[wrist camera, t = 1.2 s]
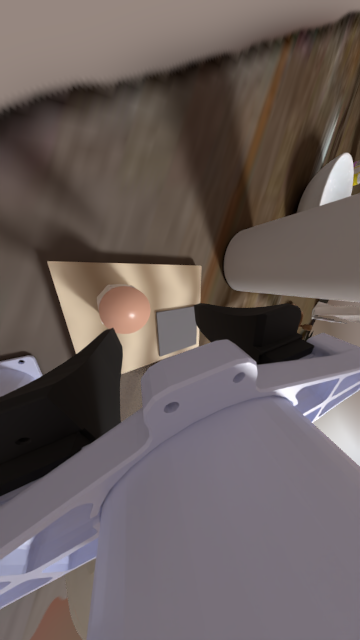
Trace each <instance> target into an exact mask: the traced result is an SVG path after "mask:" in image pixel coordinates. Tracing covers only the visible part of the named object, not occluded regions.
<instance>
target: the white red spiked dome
mask: <svg viewBox="0 0 360 640" xmlns="http://www.w3.org/2000/svg"><path fill="white" fill-rule="evenodd" d="M95 563H96V558H95V559H93V560H91V561H89V562H87V563H85V564H84V565H82V566H80V567H78V568H76V569H74V570H72V571H70V572H68V573H67V574H65V580H66V589H67V596H68V602H69V609H70V614H71V618H72V621H73V624H74V626H75V628H76V630H77V632H78V634H79V635H80V637H81V638H82V639H83V640H86V638H87V630H88V622H89V613H90V605H91V596H92V588H93V580H94V571H95Z"/></svg>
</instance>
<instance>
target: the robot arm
mask: <svg viewBox="0 0 360 640" xmlns="http://www.w3.org/2000/svg"><path fill="white" fill-rule="evenodd" d="M194 312H195V321H196V325H197V326H198V328H199V329H200V331H201V332H202V333H203V334H204V335H205V336H206V337H207V339H208V340H209V341H210V342H211V343H208V344H205V345H203V346H200V347H197V348H194V349H191V350H189V351H186V352H183V353H180V354H178V355H175V356H172V357H169V358H166V359H164V360H161V361H159V362H158V363H156V364H154V365H153V366H151V367H149V368H148V369H147V371H146V372H145V374H144V375H143V377H142V378H141V390H142V404H143V407H142V408H141V409H139V410H138V411H137V412H135V413H134V414H132V415H131V416H129V417H128V418H127V419H125V420H124V421H122V422H121V421H120V377H121V369H122V361H123V347H122V345H121V343H120V341H119V339H118V336H117V334H116V332H115V330H114V328H111V329H107V330H105V331H103V332H102V333H101V334H100V335H98V336H97V337H96V338H95V339H94V340H93V341H92V342H91V343H89V344H88V345H87V346H86V347H85V348H83V349H82V350H81V351H80V352H78V353H77V354H76V355H75V356H73V357H72V358H70V359H69V360H67V361H66V362H64V363H63V364H61V365H60V366H58V367H56V368H55V369H53V370H52V371H50V372H48V373H47V374H45V375H42V373H41V371H40V369H39V366H38V364H37V362H36V359H35V357H34V356H32V355H27V356H22V357H18V358H13V359H9V360H4V361H0V609H1V608H3V607H5V606H7V605H9V604H10V603H12V602H14V601H16V600H18V599H20V598H21V597H23V596H25V595H27V594H29V593H31V592H33V591H34V590H36V589H38V588H40V587H42V586H44V585H46V584H48V583H50V582H51V581H53V580H55V579H57V578H59V577H61V576H63V575H65V574H67V573H68V572H70V571H72V570H74V569H76V568H78V567H80V566H82V565H84V564H85V563H87V562H89V561H91V560H93V559H95V558H96V563H95V571H94V580H93V588H92V596H91V605H90V613H89V622H88V630H87V638H86V640H360V467H359V466H358V465H357V464H356V463H355V462H354V461H353V460H352V459H351V458H350V457H349V456H347V455H346V454H345V453H344V452H343V451H342V450H341V449H340V448H339V447H338V446H337V445H336V444H335V443H333V442H332V441H331V440H330V439H329V438H328V437H327V436H326V435H325V434H324V433H323V432H321V431H320V430H319V429H318V428H317V427H316V426H315V425H314V424H313V422H314V421H316V420H317V419H318V418H320V417H321V416H323V415H324V414H325V413H327V412H328V411H329V410H331V409H332V408H333V407H335V406H336V405H338V404H339V403H341V402H342V401H344V400H345V399H346V398H348V397H350V396H351V395H353V394H354V393H356V392H357V391H359V390H360V347H358V346H356V345H353V344H350V343H348V342H345V341H343V340H340V339H338V338H335V337H333V336H330V335H328V334H325V333H320V334H318V335H316V336H313V337H311V338H309V339H308V340H307V341H304V340H302V339H301V338H302V335H300V334H298V333H297V330H298V326H299V323H300V320H301V310H300V308H299V307H298V306H295V305H292V304H280V305H274V306H267V307H256V308H231V307H222V306H216V305H210V304H203V303H199V304H196V305H194ZM19 360H24V361H25V362H20V361H19Z"/></svg>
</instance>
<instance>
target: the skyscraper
mask: <svg viewBox="0 0 360 640" xmlns="http://www.w3.org/2000/svg"><path fill="white" fill-rule="evenodd" d="M315 315H332V316H335V317H338V318H341V319H344V320H348V321H352V322H356V323H360V306H332V305H329V304H325V303H322V302H318V303H317V304H316V306H315V307H314V308H313V310H312V319H317V320H325V321H329V322H338V323H342V322H340V321H335V320H334V319H327V318H322V317H317V316H315ZM345 324H347V323H345Z"/></svg>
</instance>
